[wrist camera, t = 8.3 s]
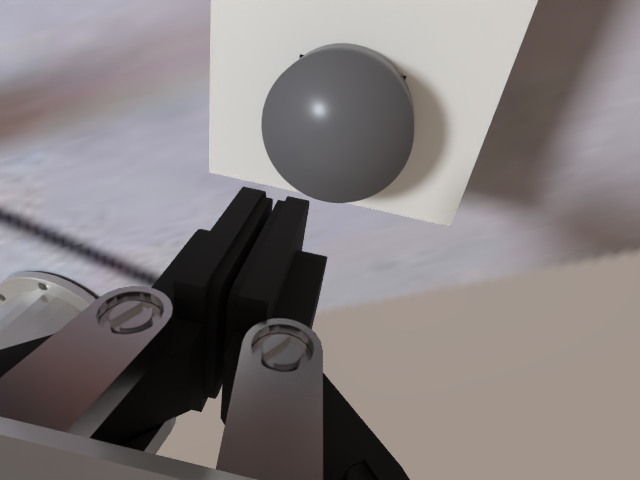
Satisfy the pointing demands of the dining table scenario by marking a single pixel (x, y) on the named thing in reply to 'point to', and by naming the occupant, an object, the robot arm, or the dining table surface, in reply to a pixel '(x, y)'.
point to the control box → (395, 45)
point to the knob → (339, 123)
